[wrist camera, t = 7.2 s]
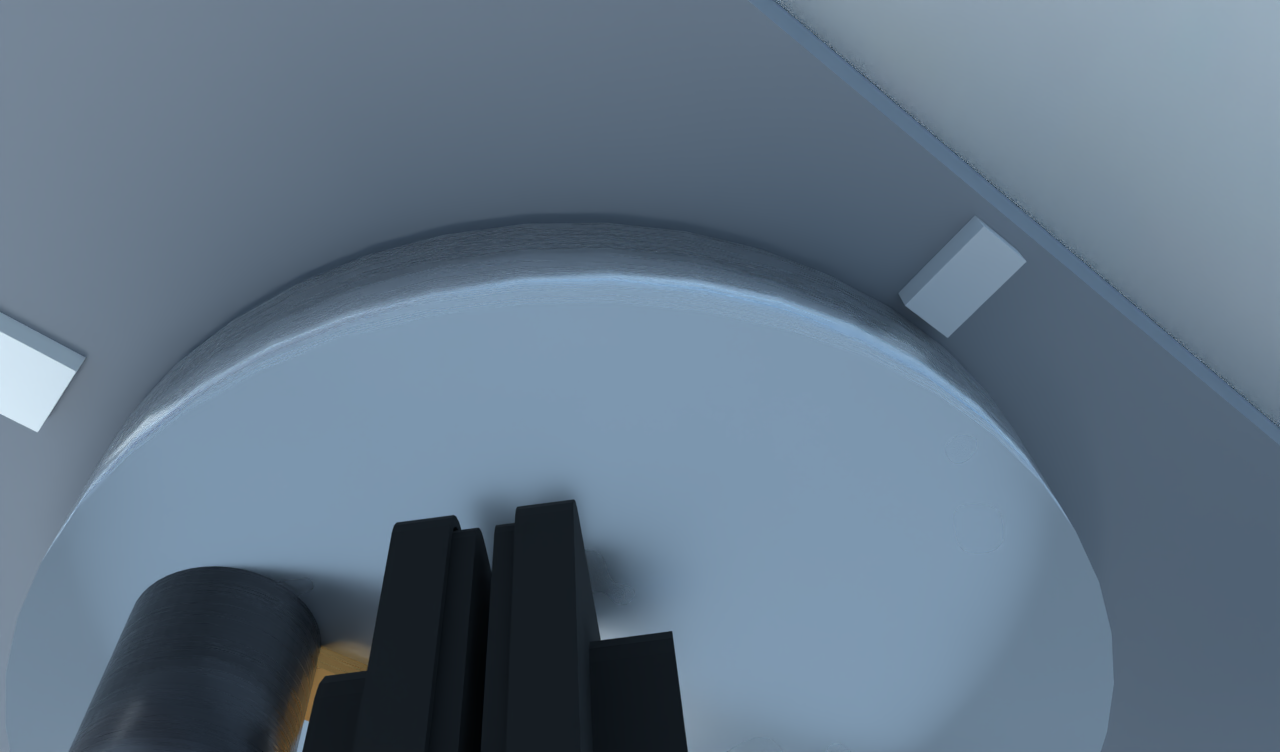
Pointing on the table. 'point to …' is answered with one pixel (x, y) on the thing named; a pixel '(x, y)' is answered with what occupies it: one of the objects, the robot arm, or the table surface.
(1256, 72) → the table surface
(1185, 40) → the table surface
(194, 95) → the grey base plate
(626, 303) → the dial
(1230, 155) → the table surface
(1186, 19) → the table surface
